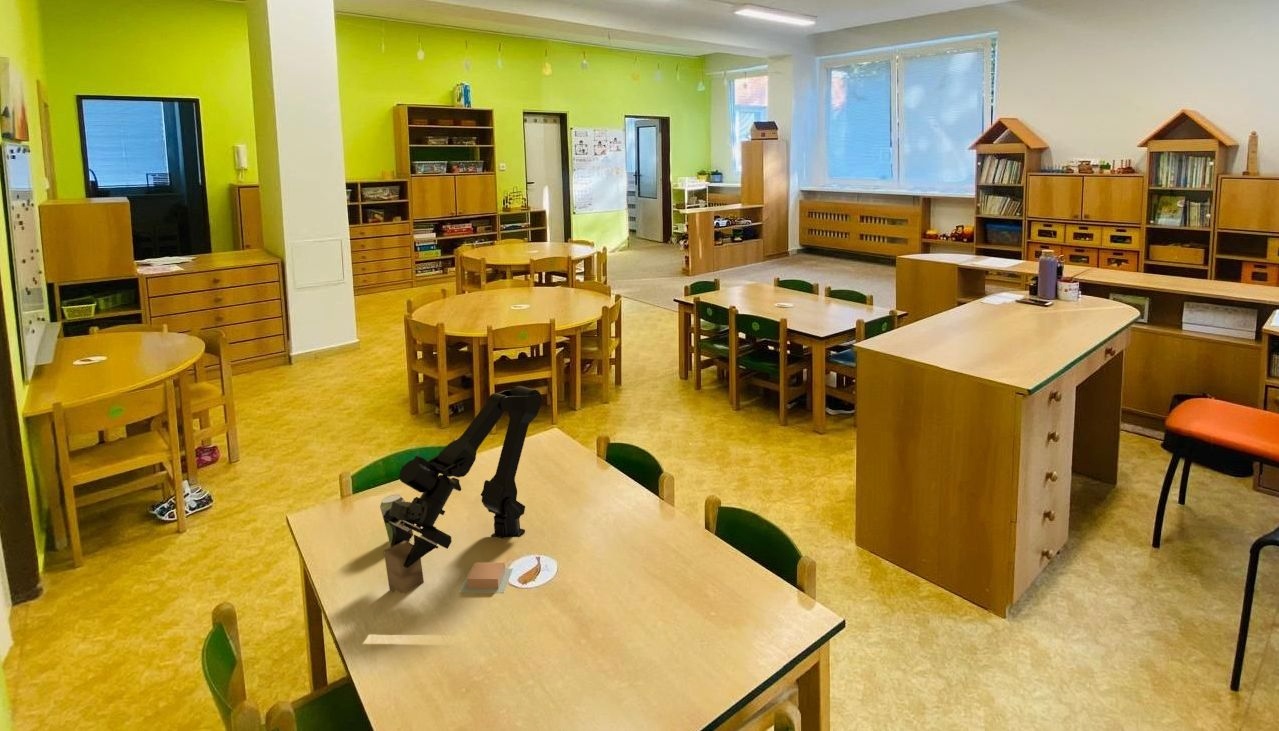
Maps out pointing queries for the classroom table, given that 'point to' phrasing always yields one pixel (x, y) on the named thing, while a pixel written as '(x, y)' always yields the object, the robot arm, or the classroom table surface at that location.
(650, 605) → the classroom table surface
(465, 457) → the robot arm
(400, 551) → the walnut pillar
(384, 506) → the beverage can
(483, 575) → the terracotta tile
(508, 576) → the grey flat square slab
